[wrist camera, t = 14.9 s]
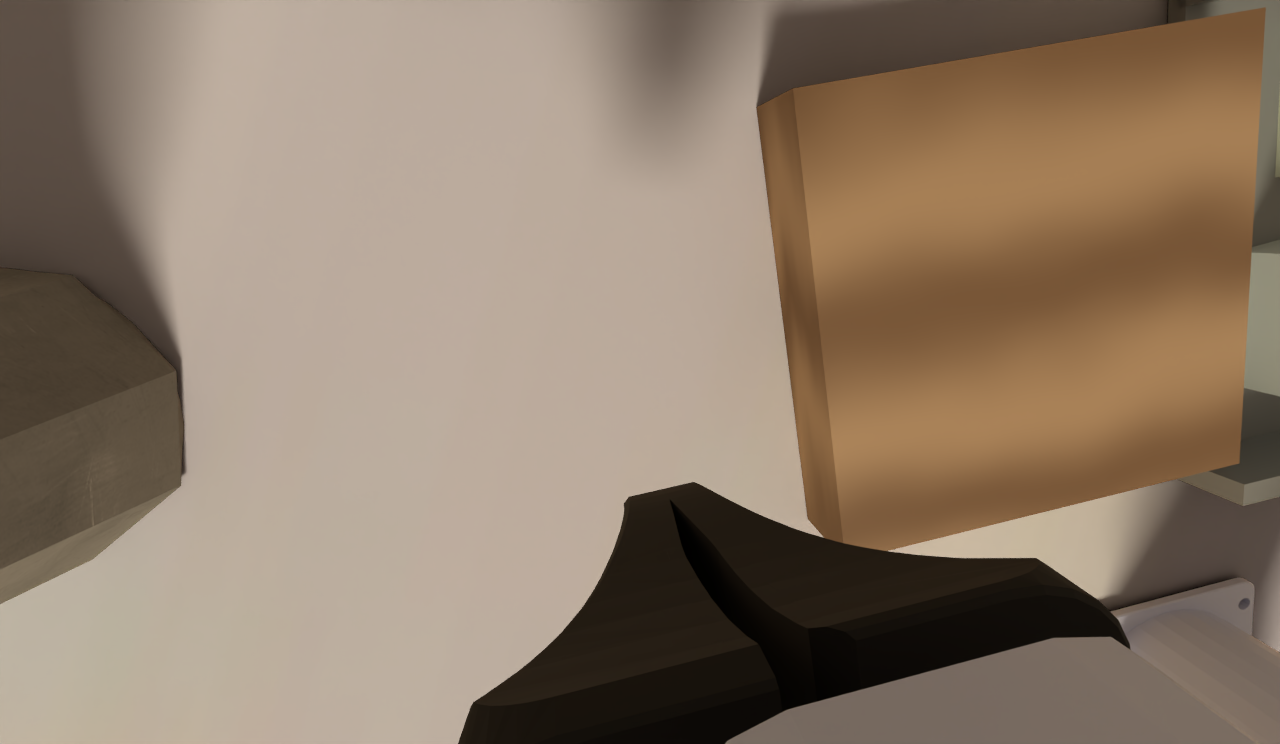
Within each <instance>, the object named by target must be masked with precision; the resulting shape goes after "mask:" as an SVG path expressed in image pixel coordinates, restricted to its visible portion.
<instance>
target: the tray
mask: <svg viewBox="0 0 1280 744" xmlns="http://www.w3.org/2000/svg"><path fill="white" fill-rule="evenodd" d="M1264 7H1266V13H1265V30H1264V48H1263V65H1262V82H1261V99H1260V116H1259V134H1258V151H1257V168H1256V185H1255V203H1254V220H1253V237H1252V247H1255V246H1258V245H1262V244H1266V243H1269V242H1273V241H1276V240H1280V177H1275V169H1276V151H1277V132H1278V113H1279V95H1280V0H1168V24H1171V23H1177V22H1183V21H1188V20H1194V19H1200V18H1206V17H1212V16H1218V15H1223V14H1229V13H1235V12H1241V11H1247V10H1253V9H1258V8H1264ZM1178 480H1180V481H1183V482H1185V483H1188V484H1190V485H1193V486H1195V487H1197V488H1200V489H1202V490H1205V491H1207V492H1210V493H1212V494H1214V495H1217V496H1219V497H1222V498H1224V499H1227V500H1229V501H1232V502H1234V503H1236V504H1239V505H1241V506H1246V505H1250V504H1254V503H1258V502H1262V501H1266V500H1269V499H1273V498H1277V497H1280V396H1276V395H1272V394H1268V393H1263V392H1259V391H1255V390H1251V389H1247V388H1244V392H1243V410H1242V427H1241V444H1240V461H1239V464H1235V465H1231V466H1227V467H1223V468H1219V469H1215V470H1211V471H1207V472H1203V473H1199V474H1195V475H1191V476H1186V477H1182V478H1178Z"/></svg>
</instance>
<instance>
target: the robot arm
mask: <svg viewBox="0 0 1280 744" xmlns="http://www.w3.org/2000/svg"><path fill="white" fill-rule="evenodd" d="M1254 595H1255V588H1254V585H1253V584H1252V583H1251V582H1249V581H1248V580H1246V579H1243V578H1241V577H1240V578H1234V579H1230V580H1226V581H1223V582H1219V583H1215V584H1211V585H1208V586H1204V587H1200V588H1197V589H1193V590H1189V591H1185V592H1182V593H1178V594H1174V595H1170V596H1167V597H1163V598H1159V599H1155V600H1152V601H1148V602H1144V603H1140V604H1137V605H1133V606H1129V607H1125V608H1122V609H1118V610H1114V611H1111V612H1110V611H1109V610H1108V609H1107V608H1106V607H1105V606H1104V605H1103V604H1102V603H1101V602H1100V601H1099V600H1097V599H1096V598H1094V597H1093V596H1091V595H1090V594H1088V593H1087V592H1085V591H1084V590H1083V589H1081V588H1080V587H1078V586H1077V585H1075V584H1074V583H1072V582H1071V581H1069V580H1068V579H1066V578H1065V577H1064V576H1062V575H1061V574H1059V573H1058V572H1056V571H1055V570H1053V569H1052V568H1050V567H1049V566H1047V565H1046V564H1044V563H1043V562H1041V561H1040V560H1038V559H1037V558H949V557H935V556H922V555H912V554H904V553H895V552H888V551H883V550H877V549H871V548H865V547H860V546H855V545H850V544H846V543H841V542H837V541H833V540H830V539H826V538H823V537H819V536H816V535H812V534H808V533H805V532H802V531H799V530H796V529H793V528H791V527H788V526H786V525H783V524H781V523H778V522H775V521H773V520H770V519H768V518H766V517H763V516H761V515H759V514H757V513H754V512H752V511H750V510H748V509H746V508H744V507H742V506H740V505H738V504H736V503H734V502H732V501H730V500H728V499H726V498H724V497H722V496H720V495H719V494H717V493H715V492H713V491H711V490H709V489H707V488H705V487H704V486H702V485H700V484H697V483H695V482H692V483H688V484H683V485H679V486H675V487H670V488H666V489H662V490H657V491H653V492H648V493H644V494H640V495H635V496H631V497H629V498H628V499H627V500H626V502H625V503H624V517H623V522H622V526H621V530H620V532H619V535H618V538H617V541H616V544H615V547H614V550H613V552H612V555H611V557H610V559H609V561H608V563H607V566H606V568H605V570H604V572H603V574H602V576H601V578H600V580H599V582H598V584H597V585H596V587H595V589H594V591H593V592H592V594H591V595H590V597H589V598H588V600H587V601H586V603H585V605H584V606H583V607H582V609H581V610H580V611H579V613H578V614H577V615H576V616H575V617H574V618H573V620H572V621H571V622H570V623H569V624H568V626H567V627H566V628H565V629H564V630H563V631H562V633H561V634H560V635H559V636H558V637H557V638H556V639H555V640H554V641H553V642H552V643H550V644H549V645H548V646H547V647H546V648H545V649H544V650H543V651H542V652H541V653H540V654H539V655H537V656H536V657H535V658H534V659H533V660H532V661H531V662H529V663H528V664H527V665H526V666H524V667H523V668H522V669H521V670H519V671H518V672H517V673H515V674H514V675H512V676H511V677H510V678H508V679H507V680H505V681H504V682H503V683H501V684H500V685H498V686H497V687H496V688H494V689H493V690H491V691H490V692H488V693H487V694H486V695H484V696H483V697H481V698H479V699H478V700H476V701H475V702H473V704H472V706H471V708H470V711H469V714H468V716H467V719H466V722H465V725H464V728H463V731H462V734H461V737H460V740H459V743H458V744H1280V652H1278V651H1277V650H1275V649H1273V648H1271V647H1270V646H1268V645H1266V644H1265V643H1263V642H1261V641H1260V640H1258V639H1256V638H1254V637H1253V636H1252V625H1253V610H1254Z"/></svg>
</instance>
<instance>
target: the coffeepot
mask: <svg viewBox="0 0 1280 744" xmlns="http://www.w3.org/2000/svg"><path fill="white" fill-rule="evenodd" d="M183 434H184V422H183V415H182V409H181V402H180V398H179V395H178V392H177V372H176V370H175V369H174V368H173V367H172V365H171V364H170V363H169V362H168V361H167V360H166V359H165V358H164V357H163V356H162V355H161V354H160V353H159V351H158V350H157V349H156V348H155V347H154V346H153V345H152V344H151V343H150V342H149V341H148V339H147V338H146V337H145V336H144V335H143V334H142V333H141V332H140V331H139V330H138V328H137V327H136V326H135V325H134V324H133V323H132V322H131V321H129V320H128V319H127V318H126V317H124V316H123V315H122V314H120V313H119V312H118V311H117V310H115V309H114V308H113V307H111V306H110V305H109V304H108V303H106V302H105V301H103V300H101V299H99V298H97V297H96V296H95V295H93V294H92V293H91V292H90V291H89V290H88V289H87V288H86V287H85V286H84V285H83V284H82V283H80V282H79V281H78V280H77V279H76V278H75V277H74V276H73V275H65V274H54V273H43V272H33V271H26V270H19V269H11V268H0V604H1V603H3V602H5V601H7V600H9V599H12V598H14V597H16V596H18V595H20V594H22V593H24V592H26V591H28V590H30V589H32V588H34V587H36V586H38V585H40V584H42V583H45V582H47V581H49V580H51V579H53V578H55V577H57V576H59V575H61V574H63V573H65V572H67V571H69V570H71V569H73V568H75V567H78V566H80V565H82V564H84V563H86V562H88V561H90V560H92V559H94V558H95V557H96V556H97V555H98V554H100V553H101V552H102V551H103V550H104V549H106V548H107V547H108V546H109V545H110V544H112V543H113V542H114V541H115V540H116V539H118V538H119V537H120V536H121V535H122V534H124V533H125V532H126V531H127V530H128V529H130V528H131V527H132V526H133V525H134V524H136V523H137V522H138V521H139V520H140V519H142V518H143V517H144V516H145V515H146V514H147V513H149V512H150V511H151V510H152V509H153V508H155V507H156V506H157V505H158V504H159V503H161V502H162V501H163V500H164V499H165V498H167V497H168V496H169V495H170V494H171V493H173V492H174V491H175V490H176V489H177V488H179V487H180V486H181V471H182V447H183Z"/></svg>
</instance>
